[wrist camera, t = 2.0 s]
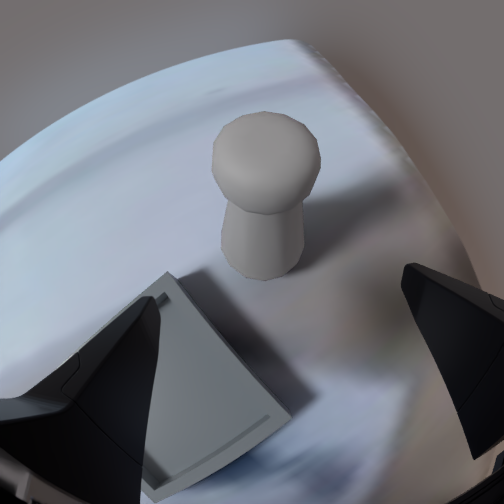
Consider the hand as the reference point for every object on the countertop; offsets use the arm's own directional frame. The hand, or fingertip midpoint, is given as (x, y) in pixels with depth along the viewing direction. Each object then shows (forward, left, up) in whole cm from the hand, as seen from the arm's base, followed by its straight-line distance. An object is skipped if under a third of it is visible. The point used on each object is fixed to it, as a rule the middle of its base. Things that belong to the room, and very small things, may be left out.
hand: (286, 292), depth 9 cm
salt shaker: (+4, -3, -12) cm, 13 cm away
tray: (0, +10, -12) cm, 15 cm away
